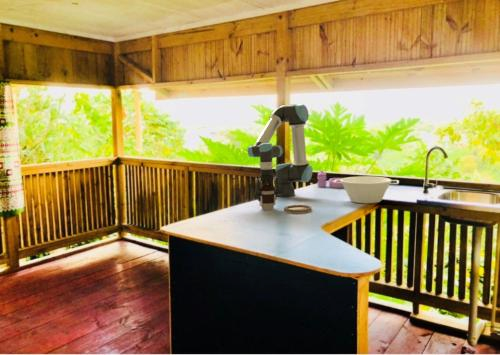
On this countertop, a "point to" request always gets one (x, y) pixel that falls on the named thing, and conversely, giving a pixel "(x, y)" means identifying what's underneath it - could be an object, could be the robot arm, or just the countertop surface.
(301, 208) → the round tray
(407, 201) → the countertop surface
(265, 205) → the coffee cup
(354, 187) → the pot
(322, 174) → the container set
